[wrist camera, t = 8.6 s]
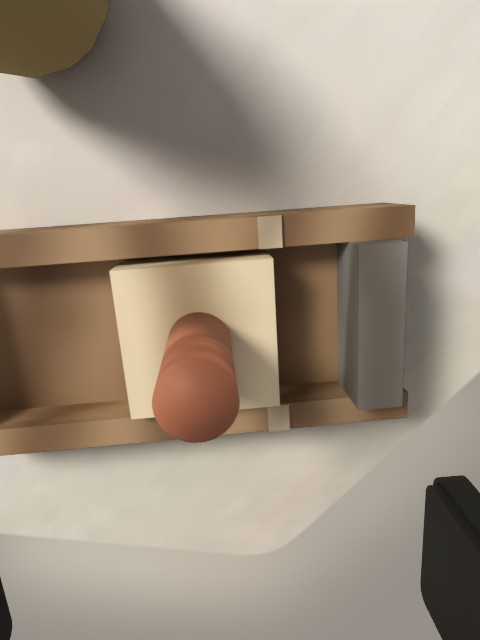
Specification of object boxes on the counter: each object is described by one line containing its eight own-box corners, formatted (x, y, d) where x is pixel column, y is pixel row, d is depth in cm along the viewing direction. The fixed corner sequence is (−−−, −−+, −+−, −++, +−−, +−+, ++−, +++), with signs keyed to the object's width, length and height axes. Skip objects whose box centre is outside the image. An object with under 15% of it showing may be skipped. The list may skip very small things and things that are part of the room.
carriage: (265, 250, 26) (301, 288, 16) (271, 381, 28) (306, 486, 18) (121, 261, 25) (66, 306, 15) (139, 393, 28) (102, 507, 18)
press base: (383, 202, 28) (429, 206, 22) (379, 386, 31) (419, 431, 25) (-61, 234, 26) (-136, 247, 21) (-15, 422, 30) (-68, 478, 24)
